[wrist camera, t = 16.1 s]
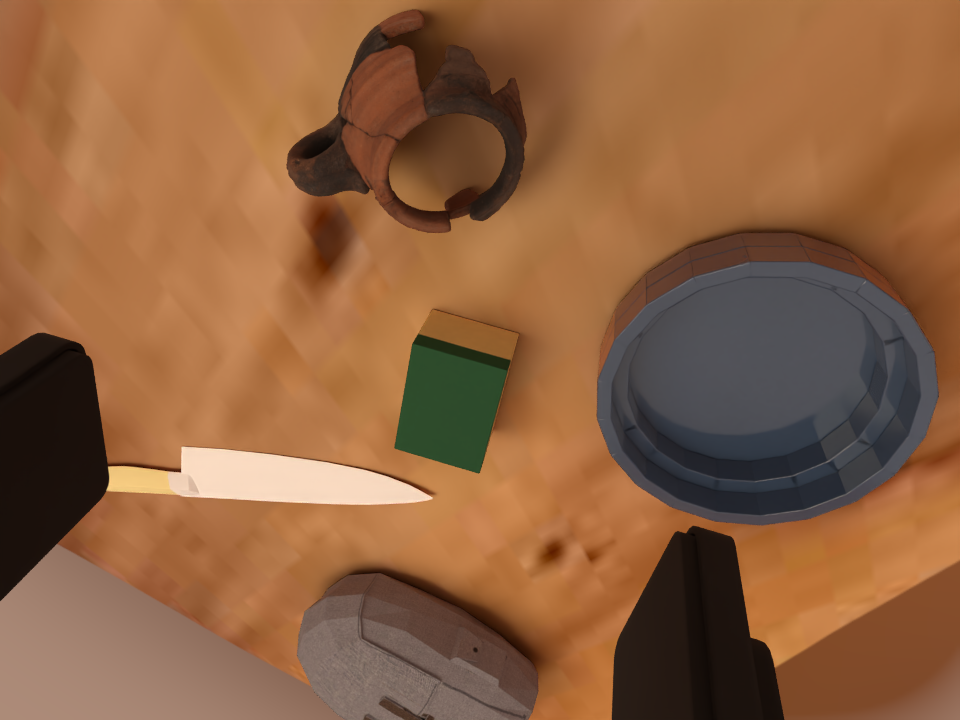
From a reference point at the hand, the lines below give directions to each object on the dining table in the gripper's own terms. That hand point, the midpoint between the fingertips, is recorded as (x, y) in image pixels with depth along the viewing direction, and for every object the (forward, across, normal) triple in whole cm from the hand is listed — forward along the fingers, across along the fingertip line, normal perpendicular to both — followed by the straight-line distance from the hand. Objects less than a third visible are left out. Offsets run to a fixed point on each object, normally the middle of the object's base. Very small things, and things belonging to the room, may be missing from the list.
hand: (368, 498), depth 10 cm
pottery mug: (+28, +7, +2) cm, 29 cm away
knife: (+28, +18, +32) cm, 46 cm away
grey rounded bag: (+28, 0, +45) cm, 53 cm away
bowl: (+28, -14, +11) cm, 33 cm away
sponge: (+28, +2, +17) cm, 33 cm away
